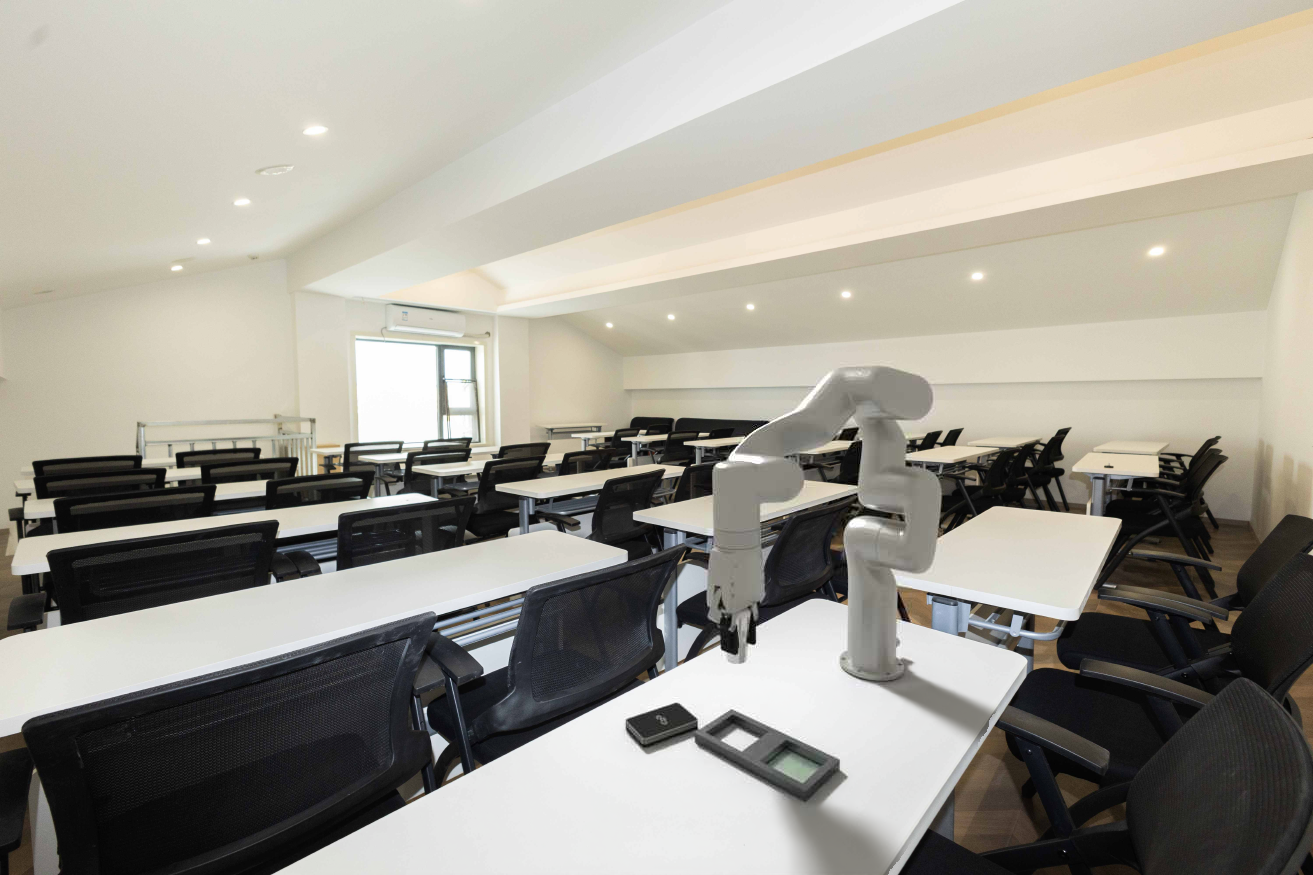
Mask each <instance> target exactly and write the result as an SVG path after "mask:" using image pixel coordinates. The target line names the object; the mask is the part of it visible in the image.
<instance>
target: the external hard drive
mask: <svg viewBox="0 0 1313 875" xmlns="http://www.w3.org/2000/svg"><path fill="white" fill-rule="evenodd" d="M698 720H699V719H698V718H697V716H695V715H694V714H692V713H691V712H690V711H689V710H688V709H687V708H685V706H684V705H682V704H681V703H679V702H673V703H670V704H667V705H664V706H661V707H658V708H655V709H652V710H649V711H646V712H643V713H640V714H637V715H634V716H631V717H628V718H626V719H625V730H626V731H627V733H629V734H630V735H631V736H632V737H633V738H634V739H635V741H636V742H637V743H638V744H639V746H641V747H642V748H645V749H646V748H649V747H652V746H655V745H657V744H660V743H664V742H665V741H669V740H671V739H673V738H676V737H679V736H682V735H685V734H689V733H691V732H693V731H697V729H698V728H699V724H698V722H699V721H698Z"/></svg>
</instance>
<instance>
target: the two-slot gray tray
mask: <svg viewBox="0 0 1313 875" xmlns="http://www.w3.org/2000/svg"><path fill="white" fill-rule="evenodd" d="M732 724H734V725H735V726H738V727H740V728H742V729H744V730H746V731H748V732H750V733H753V734H754V735H756V736H759V737H760V738H758V739H757V740H755V741H753V742H752V743H751V744H750V745H748V746H747V747H746V748H744V749H743V750H739V749H738V748H735V747H734V746H732V745H730V744H729V743H726V742H725V741H722V740H721V739H718V738H716V735H717V734H719V733H720V732H721V731H723V730H725V729H727V727H729V726H730V725H732ZM694 742H695V743H696V744H698V745H700V746H702V747H703V748H705V749H707V750H709V751H710V752H713V753H715V754H717V755H719V756H720V757H721V758H724V759H726V760H727V761H729V762H731V763H733V764H735V765H736V766H738V767H741V768H743V769H744V770H745V771H748V772H749V773H752V774H753V775H755V776H757V777H758V778H760V779H762V780H764V781H766V782H768V783H770V784H771V785H773V786H775V787H777V788H779V789H780V790H782V791H784V792H786V793H788V794H789V795H791V796H794V797H795V798H797V799H799V800H801V801H803V802H805V803H806V802H808V801H809V800H810V799H811V798H812V797H813V795H815V794H816V793H817V792H818V791H819V790H820V789H821V788H822V787H823V786H824V785H826V783H828V781H829V780H830V779H831V778H832V777H833V776H835V774H837V773H838V772H839V771H840V770H841V768H840V767H841V765H840V764H841V760H840V759H839V758H837V757H835V756H833V755H832V754H829V753H827V752H824V751H823V750H820V749H818V748H816V747H814V746H812V745H810V744H808V743H805V742H803V741H801V740H798V739H797V738H795V737H792V736H790V735H788V734H786V733H784V732H781V731H780V730H777V729H776V728H773V727H772V726H769V725H767V724H764V723H763V722H760V721H758V720H756V719H755V718H751V717H750V716H747V715H745V714H743V713H741V712H740V711H737V710H734V709H733V708H731V709H728V711H727V712H724V713H723V714H722V715H720V716H718V717H717V718H715V719H713V720H712V721H710V722H709V723H707V724H705V726H703V727H701V728H700V729H698V730H695V732H694Z"/></svg>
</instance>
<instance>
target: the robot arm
mask: <svg viewBox="0 0 1313 875" xmlns="http://www.w3.org/2000/svg"><path fill="white" fill-rule="evenodd" d="M933 402H934V393H933V390H932V387H931V384H930V383H929V382H928V380H926V379H925V377H923V376H921V375H917V374H915V373H911V372H909V371H908V372H907V371H904V370H900V369H898V368H894V367H889V366H886V365H885V366H883V365H868V366H867V365H865V366H862V365H861V366H843V367H839V368H835V369H833V370H831V371H829V372H828V373H827V374H826V375H825V376H824V377H823V378H822V379H821V380H820V381H819V383H817V385H816V386H814V388H813V389H812V391H810V392H809V394H808V395H807V396H806V397H805V398H804V399H803V401H802V402H801V403H799V405H798V406H797V407H796V408H795V409H794V410H793V411H790V412H788V413H787V414H784V415H782V416H780V417H778V418H777V419H775V420H772V421H770V422H769V423H767V424H764V425H763V426H761V427H759V428H757V429H756V430H754V431H753V432H751V433H750V434H749V435H747V436H746V437H745V438H744V439H743V440H742V441H741V442H740V443H739V444H738V446H736V447H735V449H734V450H733V451H732V452H731V453H730V454H729V456H728V457H727V459H726V460H723V461H720V462H718V463H716V464H715V465H714V466H713V469H712V476H711V478H712V516H713V517H712V518H713V519H712V523H713V524H712V525H713V529H712V530H713V531H712V532H713V547H712V548H711V550H710V553H709V554H710V555H709V560H708V567H707V578H706V581H707V582H706V603H707V607H708V608H709V609H708V610H709V611H708V613H707V619H709V620H710V621H713V622H714V623H715V624H716V625H717V627H718V628H719V635H720V636H719V637H720V641H719V642H720V650H721V651H723V652H725V653H726V652H727V653H730V654H733V655H737V654H738V630H735V628H736V618H737V612H738V611H740V610H742V609H744V608H746V607H748V608H749V610H750V612H751V616H750V625H749V638H748V645H751V646H755V645H756V644H757V620H758V618H759V610H760V608H761V603H762V602H763V600H764V598H765V597H766V595H767V594H766V590H765V586H766V585H765V584H766V583H765V581H766V580H765V566H764V557H763V556H764V555H763V550H762V542H761V535H762V533H761V505H762V504H782V503H787V502H790V501H792V500H793V499H795V498H796V497H797V496H799V495H800V494H801V492H802V490H803V489H804V485H805V474H804V471H803V469H802V467H801V466H800V465H799V464H798V463H797V462H796V461H795V460H792V459H790V458H788V457H787V456H790V455H794V454H798V453H799V454H800V453H804V452H809V451H812V450H816V449H818V448H821V447H824V446H826V445H828V444H830V443H831V442H832V441H833V440H834V438H835V437H836V436H837V435H838V434H839V433H840V431H841V430H842V429H843V427H845V425H846V424H847V422H848V421H849V420H850V419H851V418H853V419H854V421H855V423H856V424H857V427H858V429H859V431H860V435H861V440H862V446H861V447H862V448H861V457H860V464H859V473H858V482H857V498H858V501H859V503H860V504H861V505H862V506H863V507H865V508H867V509H871V510H875V511H880V512H885V513H892V514H896V515H903V516H905V521H900V520H894V519H891V518H887V517H886V518H884V517H879V516H871V515H861V516H856V517H854V518H852V519H850V520H849V521H848V523H847V524H846V526H845V529H844V531H843V547H844V551H845V552H844V553H845V556H846V561H847V562H846V564H847V574H848V575H847V578H848V579H847V583H848V587H847V588H848V590H847V641H846V642H847V643H846V644H847V650H845V651H844V652H842V653H841V654H840V655H839V665H840V667H841V668H842V669H843V670H844V671H845V672H846V673H847V674H850V675H853V676H855V677H858V678H860V679H864V680H868V681H869V680H870V681H876V682H877V681H878V682H879V681H880V682H885V681H886V682H887V681H893V680H897V679H898V678H900V677H902V676H903V674H904V673H905V666H904V663H903V662H902V660H901V659H899V658H898V657H897V648H898V647H900V645H901V640H900V639H899V638H898V637H897V626H898V625H897V618H898V617H897V616H898V584H897V580H896V578H895V575H894V573H893V571H892V570H896V571H900V572H905V573H909V574H913V575H914V574H916V575H921V574H925V573H927V571H928V570H929V569H930V568H931V566H932V565H933V562H934V559H935V556H936V549H937V545H938V544H937V542H938V535H939V524H940V516H941V509H942V494H943V493H942V492H943V491H942V487H941V483H940V481H939V477H937V475H936V474H935V473H934V472H932V471H931V470H930V469H926V468H923V467H922V468H920V467H912V466H907V465H906V457H907V448H908V447H907V446H908V445H907V438H906V436H905V433H904V431H903V430H902V428H901V426H900V424H899V423H898V422H897V421H919V420H921V419H923V418H925V417H926V416H927V415H928V413H929V412H930V411H931V409H932V406H933V404H934V403H933ZM755 601H756V603H755ZM754 603H755V605H754ZM753 606H754V607H753ZM752 608H753V609H752ZM751 610H752V611H751ZM726 614H728V615H730V617H729V620H728V619H727V618H726V617H725V615H726Z"/></svg>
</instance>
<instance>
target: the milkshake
mask: <svg viewBox="0 0 1313 875" xmlns="http://www.w3.org/2000/svg"><path fill="white" fill-rule="evenodd" d="M755 603H756V601H755ZM755 603H754V605H755ZM753 607H754V606H753ZM752 609H753V608H752ZM751 611H752V610H751ZM750 616H751V612H750V610H749V608H748V607H746V608H744V609H742V610H740V611H738V612H737V618H736V628H735V630H738V654H737V655H733V654H730V653H727V652H725V653H726V654H725V655H726V660H727V661H728V662H729V663H731V664H738V665H740V664H745V663H746V662H747V660H748V649H749V648H748V647H749V644H748V638H749V625H750ZM725 617H726V618H727V619H728V620H729V617H730V615H728V614H726V615H725Z"/></svg>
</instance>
